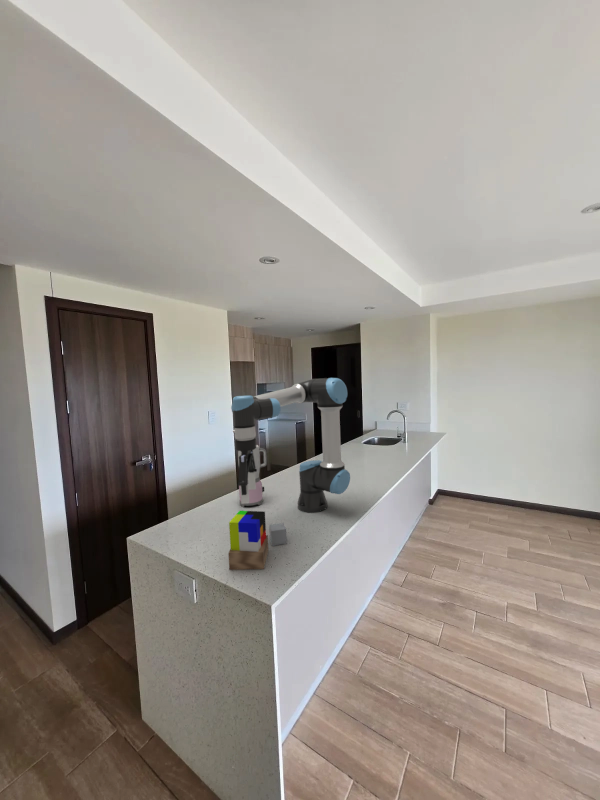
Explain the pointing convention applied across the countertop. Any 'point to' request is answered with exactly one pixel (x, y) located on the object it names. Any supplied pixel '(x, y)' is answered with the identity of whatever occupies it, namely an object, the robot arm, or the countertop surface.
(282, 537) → the slate block
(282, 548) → the countertop surface
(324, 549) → the countertop surface
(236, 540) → the puzzle toy
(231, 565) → the walnut block
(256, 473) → the blender
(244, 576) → the countertop surface
